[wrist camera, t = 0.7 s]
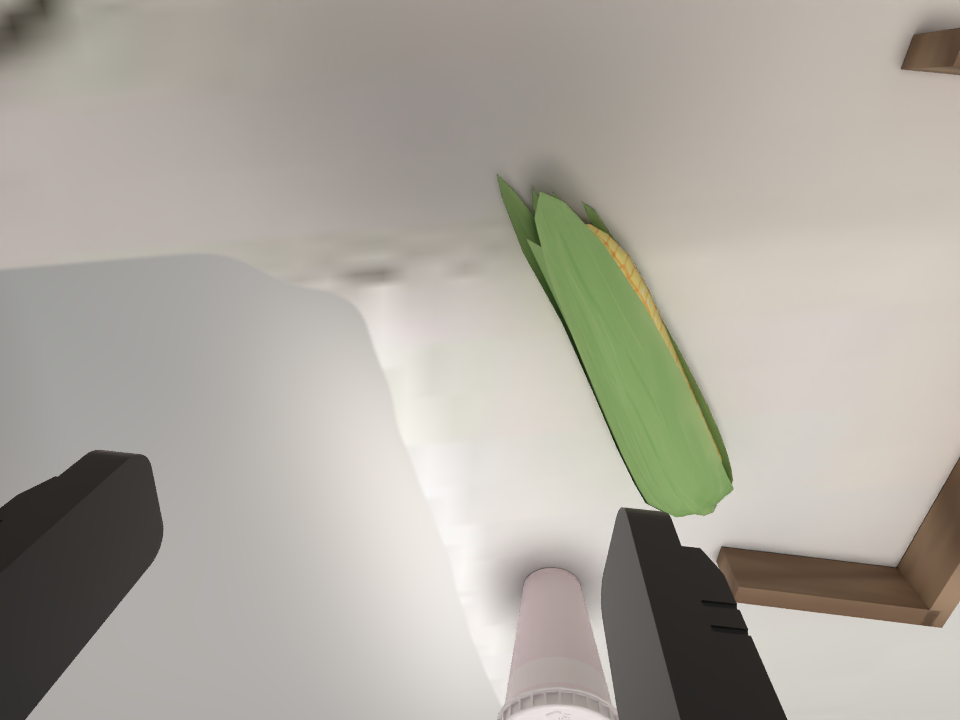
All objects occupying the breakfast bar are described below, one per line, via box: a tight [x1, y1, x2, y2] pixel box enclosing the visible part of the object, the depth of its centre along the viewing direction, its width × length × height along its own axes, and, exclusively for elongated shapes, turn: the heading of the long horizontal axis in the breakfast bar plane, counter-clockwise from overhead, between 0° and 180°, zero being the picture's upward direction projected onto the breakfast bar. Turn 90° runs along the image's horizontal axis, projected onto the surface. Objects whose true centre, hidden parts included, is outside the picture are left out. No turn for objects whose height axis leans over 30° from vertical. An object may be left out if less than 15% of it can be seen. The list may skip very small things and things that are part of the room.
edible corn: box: [497, 174, 733, 517], centre depth 26 cm, size 5×20×5 cm
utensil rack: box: [716, 28, 960, 628], centre depth 26 cm, size 28×12×3 cm, turn 175°
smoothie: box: [497, 568, 619, 720], centre depth 30 cm, size 6×6×14 cm
